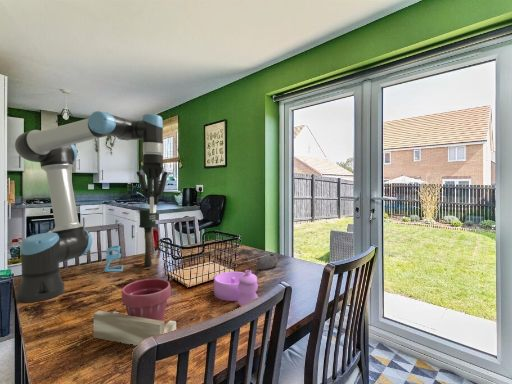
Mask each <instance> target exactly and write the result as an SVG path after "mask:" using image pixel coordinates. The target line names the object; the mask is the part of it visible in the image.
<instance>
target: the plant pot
mask: <svg viewBox="0 0 512 384" xmlns="http://www.w3.org/2000/svg"><path fill="white" fill-rule="evenodd" d="M170 283H171V282H169V281H168V280H167V279H163V278H147V279H139V280H136V281H133V282H130V283H128V284H126V285H124V287H122V289H121V303H122V304H123V305H124V306H125V309H126V313H127V314H126V315H129V316H135V317H141V318H147V319H153V320H159V321H164V317H165V314H166V313H165V312H166V308H167V303H168V299H170V297H171V284H170Z"/></svg>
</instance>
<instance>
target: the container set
mask: <svg viewBox="0 0 512 384" xmlns="http://www.w3.org/2000/svg"><path fill="white" fill-rule="evenodd" d="M257 281H258V277H257V275H256V274H254V273H252V270H251V269H250V270H249V269H246V270H245V272H242V271H225V272H221V273H218V274H216V275H215V276H214V277H213V295H214V296H215V297H216V298H217V299H219V300H221V301H228V302H230V301H231V302H233V301H234V302H236V301H237V303H238V305H239V306H240V307H241V306H242V305H245V304H247V303H248V302H250V301H252V300H254V299H256V298H258V299H259V295H258V294H257V293H256V292H257V291H258V288H259V285H258V284H259V283H258V282H257ZM215 297H214V298H215Z"/></svg>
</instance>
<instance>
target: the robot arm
mask: <svg viewBox="0 0 512 384" xmlns="http://www.w3.org/2000/svg"><path fill="white" fill-rule="evenodd" d="M163 121H164V120H163V117H162V116H161V115H159V114H155V113H154V114H153V113H146V114H143V115H142V120H129V119H127V118H124V117H119V116H116V115H113V114H111V113H108V112H105V111H101V110H100V111H99V110H98V111H94V112H92V113H91V114H89V117H88V118H85V119H81V120H78V121H74V122H70V123H67V124H63V125H58V126H55V127H51V128H47V129H44V130H40V129H39V130H38V129H33V130H32V129H31V130H29V131H26V132H23V133H21V134H20V135H18V136H17V137H16V138H15V141H14V149H15V151H16V153H17V154H18V155H19V156H20V157H21V158H22V159H24V160H26V161H27V162H28V161H29V162H33V163H34V162H35V163H39V165H40V168H41V170H42V171H44V172H45V174H46V179H47V185H48V189H49V191H48V192H49V196H50V200H51V201H50V203H51V208H52V212H53V213H52V214H53V219H54V227H53V229H52V231H51V232H42V233H37V234H33V235H30V236H27V237H26V238H24V239H23V240H22V242H21V246H20V247H21V248H20V254H21V255H20V257H21V259H20V260H21V279H20V283H19V284H18V288H17V291H16V292H15V293H16V294H15V298H16V299H15V300H16V301H17V302H18V303H19V302H20V303H36V302H42V301H47V300H50V299H52V298H55V297H57V296H60V295H62V294H63V293H64V292H65V291H66V290H65V289H66V288H65V283H64V282H63V279H62V276H61V274H60V263H64V262H67V261H69V260H73V259H78V258H81V257H82V256H85V255H86V254H87V253H89V251H90V249H91V247H92V244H93V237H92V235H91V233H89V231H88V230H86V229H85V227H84V225H83V224H81V222H79V217H78V216H79V215H78V210H77V205H76V198H75V193H74V186H73V181H72V174H71V169H72V168H73V167H74V164H73V163H74V162H76V160H77V157H78V150H77V147H76V145H75V144H80V143H84V142H88V141H92V140H96V139H100V138H104V137H108V136H111V137H116V138H117V139H118V140H120V141H133V140H134V141H137V140H142V153H143V155H142V167H141V169H140V170H137V171H136V175H137V177H138V180H139V184H140V187H141V193H142V195H143V196H146V197H147V204H148V206H149V209H150V213H157V205H159V197H160V196H163V195H164V192H165V189H166V188H165V187H166V183H167V178H168V176H169V175H170V172H169V171H167V170H165V168H164V166H163V163H164V156H163V154H164V150H163V149H164V145H163V142H164V141H163V139H164V138H163V137H164V136H163V134H164V131H163V130H164V125H163V124H164V123H163ZM160 176H161V179H160Z"/></svg>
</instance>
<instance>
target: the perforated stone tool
mask: <svg viewBox="0 0 512 384" xmlns="http://www.w3.org/2000/svg"><path fill="white" fill-rule="evenodd" d="M278 256H279V255H278V253H276V252H273V253H270V254H267V255H264V256H262V257H260V258H259V259H258V261H257V262H256V267H257V269H258V270H262V271H263V270H268V269H269V270H270V269H272V268H274V267H276V266H277V264H278V263H279V260H278Z"/></svg>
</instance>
